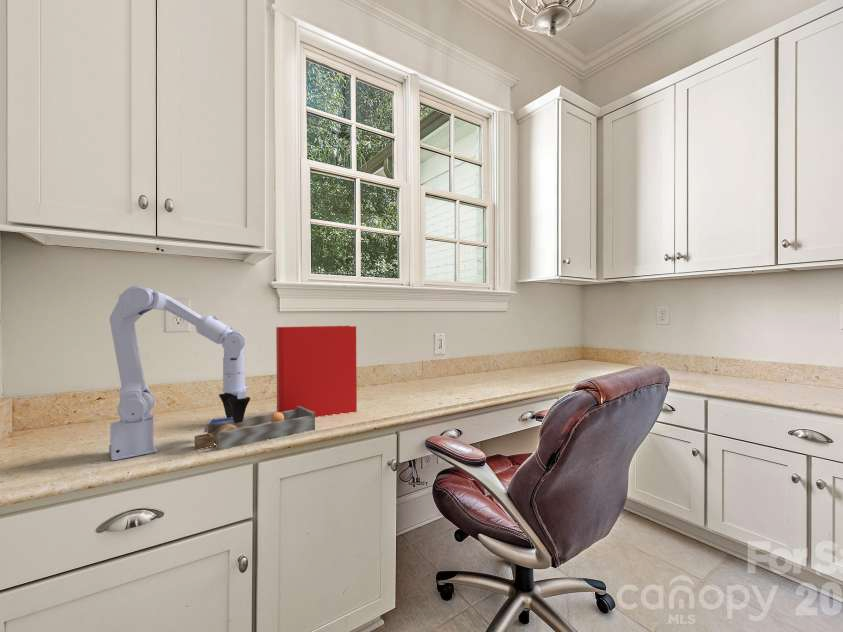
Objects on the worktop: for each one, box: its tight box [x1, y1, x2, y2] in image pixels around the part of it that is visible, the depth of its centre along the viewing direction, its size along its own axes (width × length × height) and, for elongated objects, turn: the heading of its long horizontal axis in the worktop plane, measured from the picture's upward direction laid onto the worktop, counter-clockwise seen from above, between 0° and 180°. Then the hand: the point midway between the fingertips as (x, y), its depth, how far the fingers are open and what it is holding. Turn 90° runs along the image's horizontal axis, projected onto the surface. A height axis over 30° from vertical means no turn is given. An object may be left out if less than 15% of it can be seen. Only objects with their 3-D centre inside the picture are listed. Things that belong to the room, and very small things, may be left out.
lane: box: [206, 406, 316, 451], centre depth 119 cm, size 28×12×10 cm, turn 131°
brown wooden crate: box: [194, 433, 215, 450], centre depth 108 cm, size 4×4×3 cm
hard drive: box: [206, 417, 233, 431], centre depth 129 cm, size 2×8×12 cm
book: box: [275, 325, 358, 418], centre depth 143 cm, size 27×8×32 cm, turn 118°
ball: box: [271, 411, 284, 423], centre depth 122 cm, size 4×4×4 cm
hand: (234, 419), depth 113 cm, fingers open, 7 cm apart
